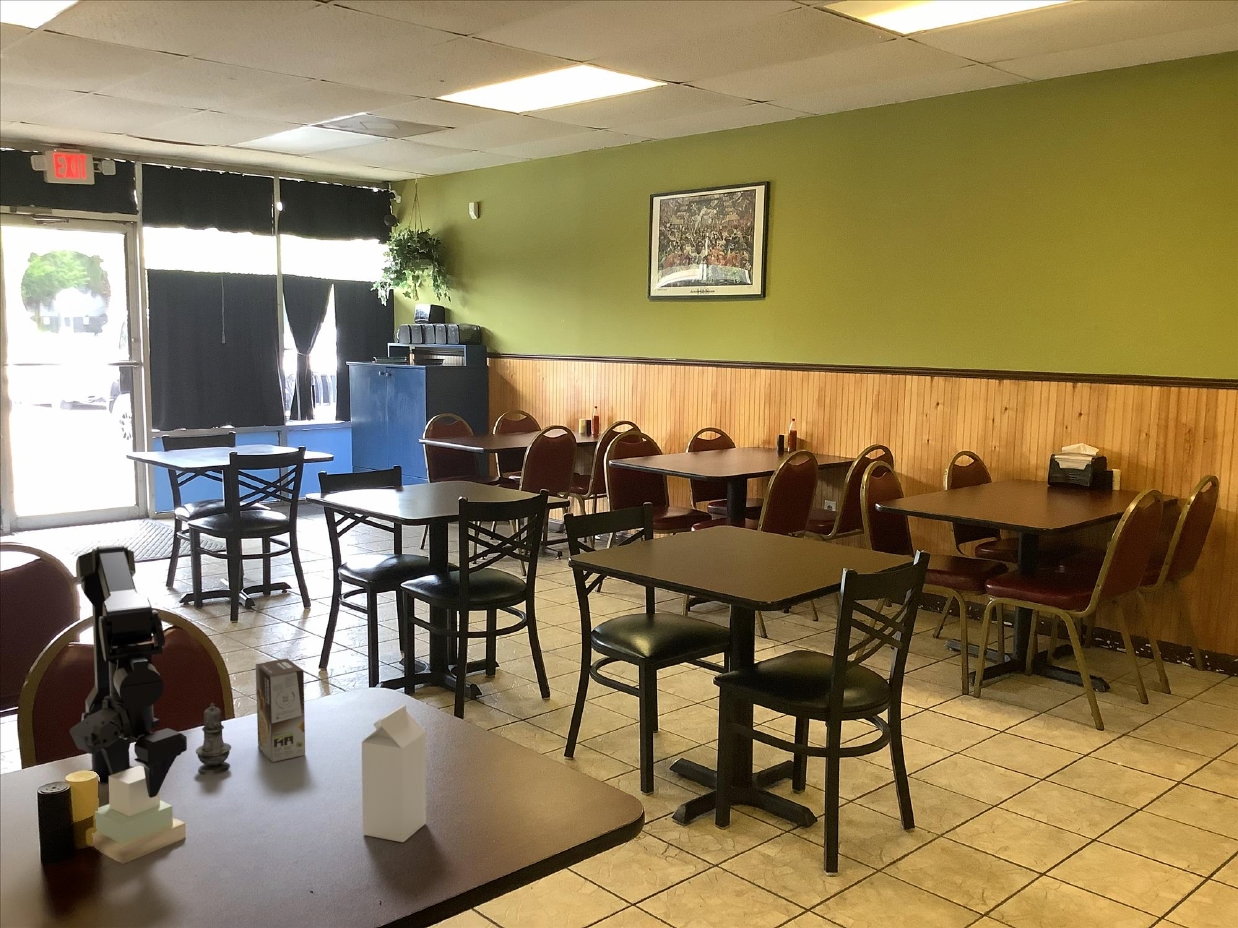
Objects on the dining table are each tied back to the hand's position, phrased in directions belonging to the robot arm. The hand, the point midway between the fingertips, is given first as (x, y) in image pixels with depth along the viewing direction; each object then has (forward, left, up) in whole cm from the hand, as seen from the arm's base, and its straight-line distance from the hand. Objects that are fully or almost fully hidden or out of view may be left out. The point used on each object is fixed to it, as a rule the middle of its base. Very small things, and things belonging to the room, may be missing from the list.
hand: (135, 788), depth 157 cm
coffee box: (-11, +35, -8) cm, 38 cm away
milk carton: (+29, +25, -8) cm, 39 cm away
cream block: (0, 0, -3) cm, 3 cm away
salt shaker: (-14, +23, -8) cm, 28 cm away
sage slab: (0, -1, -6) cm, 6 cm away
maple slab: (0, 0, -9) cm, 9 cm away
